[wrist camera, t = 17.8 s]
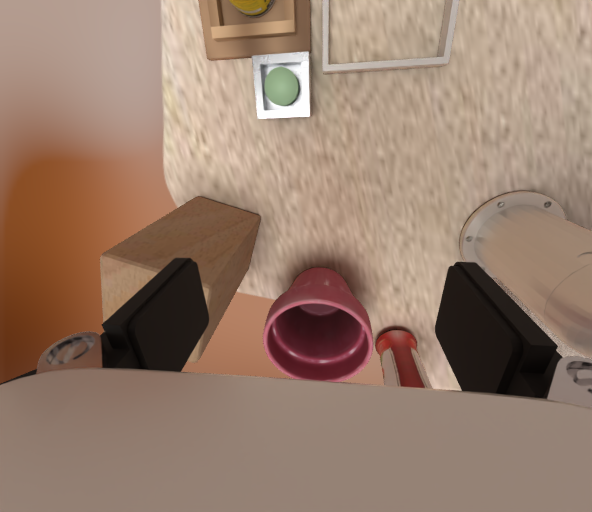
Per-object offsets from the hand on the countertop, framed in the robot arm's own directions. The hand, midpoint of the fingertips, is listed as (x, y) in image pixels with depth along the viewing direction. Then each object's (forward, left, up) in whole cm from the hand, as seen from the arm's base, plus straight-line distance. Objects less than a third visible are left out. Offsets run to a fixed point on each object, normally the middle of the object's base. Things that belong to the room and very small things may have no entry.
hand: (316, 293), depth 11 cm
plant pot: (+1, +20, -31) cm, 36 cm away
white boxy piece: (+5, -9, -30) cm, 32 cm away
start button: (+5, -9, -28) cm, 30 cm away
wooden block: (+16, +10, -31) cm, 36 cm away
